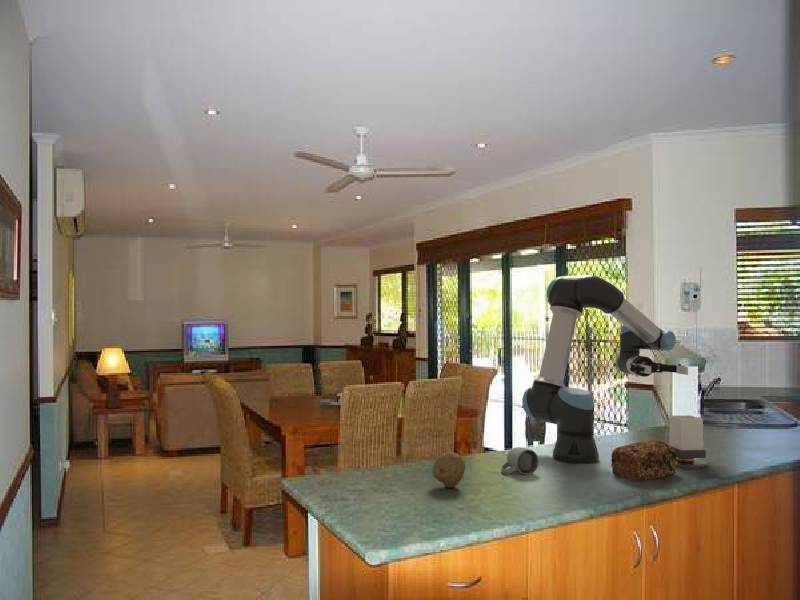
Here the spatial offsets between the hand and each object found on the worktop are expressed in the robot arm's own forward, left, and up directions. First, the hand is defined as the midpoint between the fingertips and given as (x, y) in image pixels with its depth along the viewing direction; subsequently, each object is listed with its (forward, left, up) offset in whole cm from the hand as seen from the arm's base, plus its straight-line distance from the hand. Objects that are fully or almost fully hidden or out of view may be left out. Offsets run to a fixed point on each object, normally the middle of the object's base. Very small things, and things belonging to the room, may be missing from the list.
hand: (668, 370), depth 236 cm
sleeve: (-6, -13, -24) cm, 28 cm away
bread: (-30, -17, -30) cm, 46 cm away
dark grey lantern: (-6, -13, -30) cm, 33 cm away
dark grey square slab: (-6, -13, -27) cm, 30 cm away
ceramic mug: (-63, +1, -30) cm, 70 cm away
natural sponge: (-92, -6, -30) cm, 97 cm away
